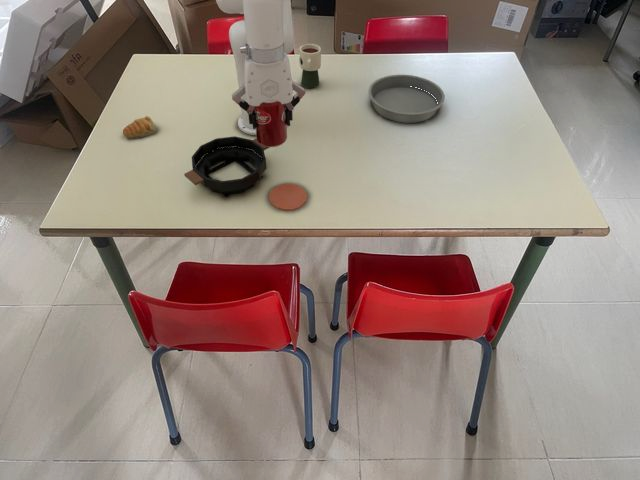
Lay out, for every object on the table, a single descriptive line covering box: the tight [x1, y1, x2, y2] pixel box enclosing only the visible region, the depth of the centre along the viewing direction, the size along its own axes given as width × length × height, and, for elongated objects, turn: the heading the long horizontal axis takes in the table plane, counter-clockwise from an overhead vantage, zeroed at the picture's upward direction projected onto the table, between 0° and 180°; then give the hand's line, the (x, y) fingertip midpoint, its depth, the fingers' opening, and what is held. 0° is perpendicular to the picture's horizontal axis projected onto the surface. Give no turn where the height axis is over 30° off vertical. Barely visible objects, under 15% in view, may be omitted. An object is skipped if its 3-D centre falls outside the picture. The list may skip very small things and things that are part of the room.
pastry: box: [122, 115, 157, 139], centre depth 142 cm, size 9×7×4 cm
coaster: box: [268, 183, 308, 212], centre depth 125 cm, size 10×10×1 cm
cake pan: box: [368, 74, 446, 124], centre depth 155 cm, size 25×25×4 cm
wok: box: [183, 135, 271, 198], centre depth 128 cm, size 24×19×6 cm
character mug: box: [298, 43, 322, 89], centre depth 159 cm, size 11×7×13 cm, turn 176°
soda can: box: [254, 100, 288, 148], centre depth 109 cm, size 7×7×12 cm
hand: (271, 123), depth 110 cm, fingers closed on soda can, 7 cm apart
